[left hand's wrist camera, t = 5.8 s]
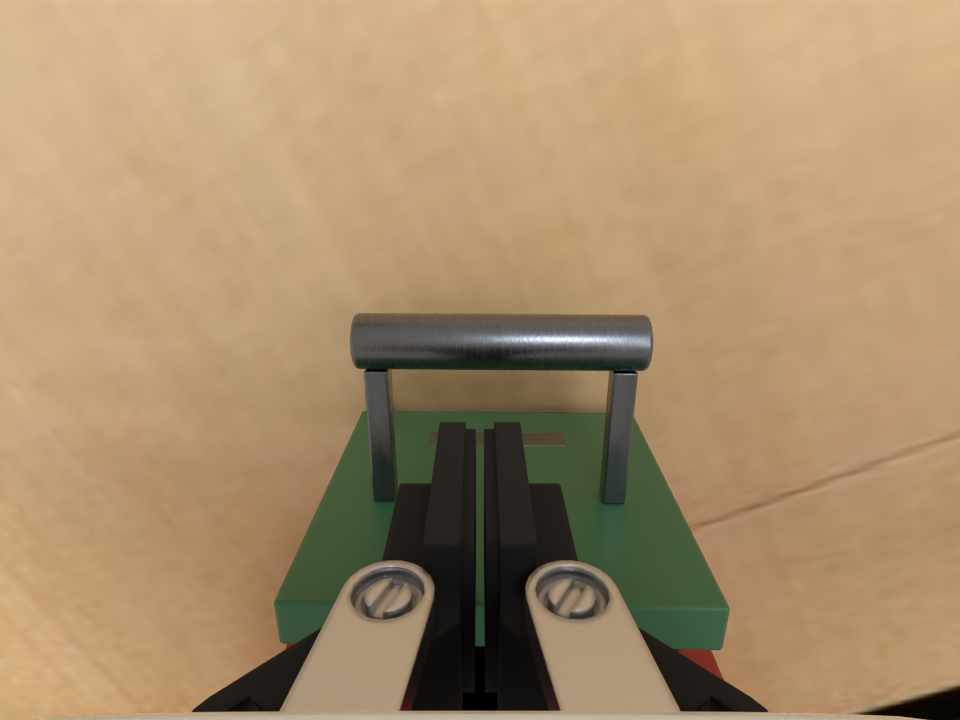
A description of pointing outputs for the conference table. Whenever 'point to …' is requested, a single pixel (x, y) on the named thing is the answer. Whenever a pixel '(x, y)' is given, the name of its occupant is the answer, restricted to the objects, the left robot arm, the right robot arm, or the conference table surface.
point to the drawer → (549, 459)
